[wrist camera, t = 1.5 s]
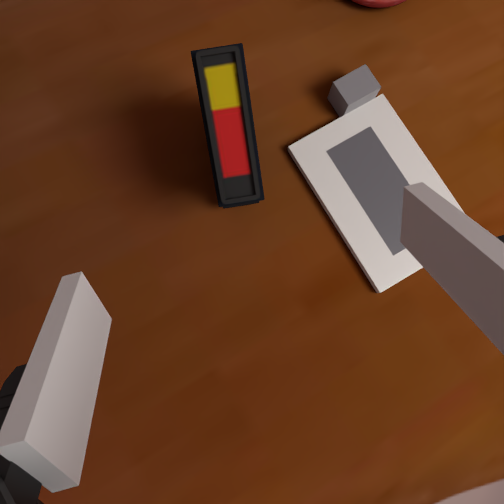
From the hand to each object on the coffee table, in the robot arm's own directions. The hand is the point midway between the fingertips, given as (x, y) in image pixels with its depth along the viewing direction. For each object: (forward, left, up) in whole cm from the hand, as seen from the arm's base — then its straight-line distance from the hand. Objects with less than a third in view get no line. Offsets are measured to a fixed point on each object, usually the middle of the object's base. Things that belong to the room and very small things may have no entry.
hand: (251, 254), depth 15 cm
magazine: (-12, +5, -23) cm, 26 cm away
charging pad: (-3, +17, -23) cm, 28 cm away
